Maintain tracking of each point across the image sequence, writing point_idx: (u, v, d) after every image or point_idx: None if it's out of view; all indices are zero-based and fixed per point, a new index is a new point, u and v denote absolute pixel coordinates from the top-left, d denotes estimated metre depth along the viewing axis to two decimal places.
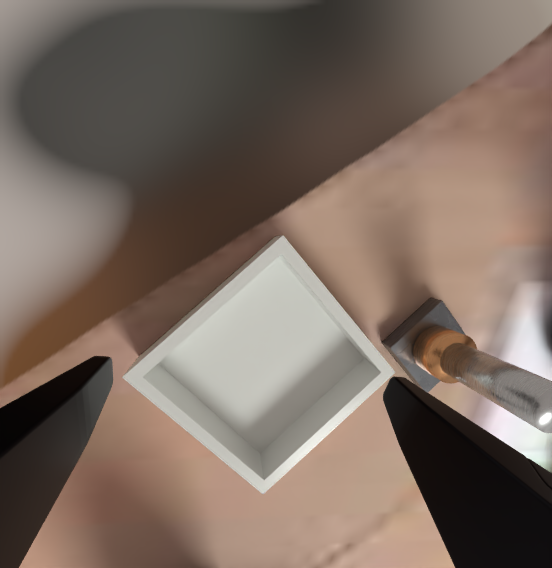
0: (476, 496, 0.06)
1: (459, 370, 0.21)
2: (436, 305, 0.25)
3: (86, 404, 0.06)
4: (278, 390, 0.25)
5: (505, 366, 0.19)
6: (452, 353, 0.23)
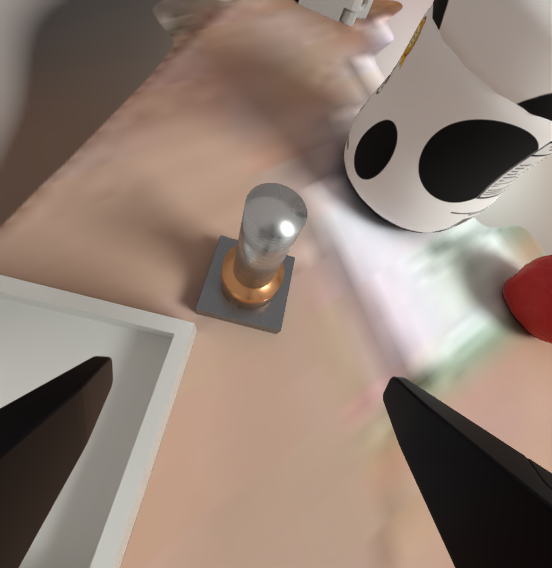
0: (476, 496, 0.06)
1: (238, 267, 0.17)
2: (218, 242, 0.23)
3: (86, 404, 0.06)
4: None
5: None
6: None
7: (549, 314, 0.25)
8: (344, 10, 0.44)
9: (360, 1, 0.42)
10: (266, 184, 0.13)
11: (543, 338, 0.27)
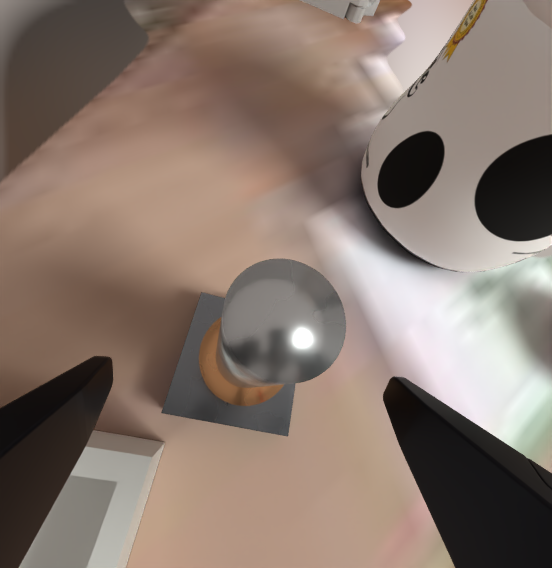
0: (476, 496, 0.06)
1: (222, 370, 0.11)
2: (198, 303, 0.16)
3: (86, 404, 0.06)
4: None
5: None
6: None
7: None
8: (350, 6, 0.38)
9: None
10: (265, 263, 0.07)
11: None
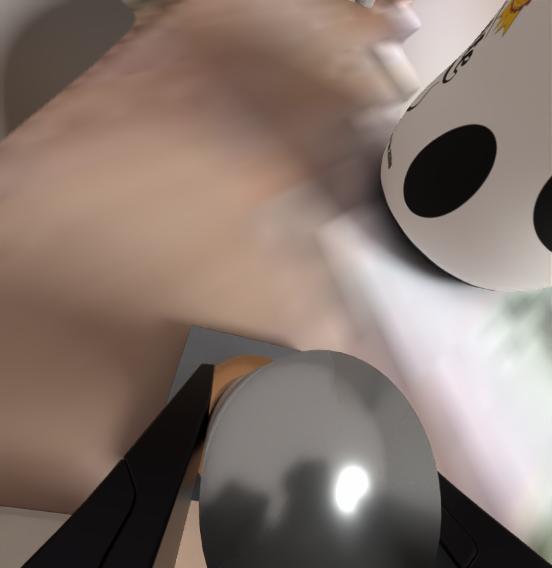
0: None
1: None
2: (187, 339, 0.13)
3: (209, 408, 0.07)
4: None
5: (225, 392, 0.06)
6: None
7: None
8: None
9: None
10: (285, 362, 0.04)
11: None
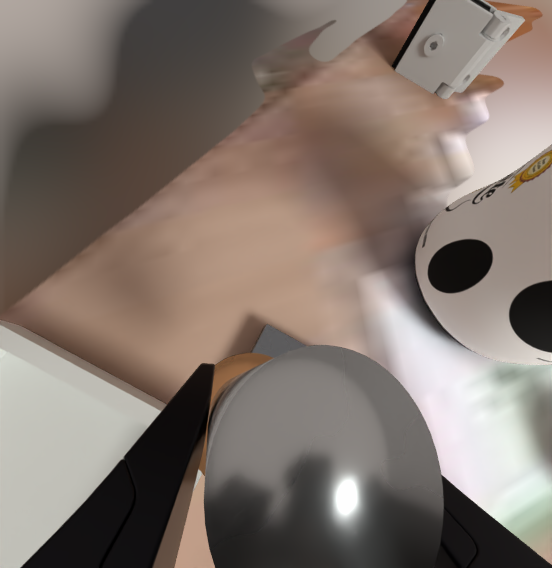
0: None
1: None
2: (262, 331, 0.21)
3: (209, 408, 0.07)
4: None
5: (232, 384, 0.06)
6: None
7: None
8: (442, 84, 0.42)
9: (462, 78, 0.40)
10: (297, 353, 0.04)
11: None
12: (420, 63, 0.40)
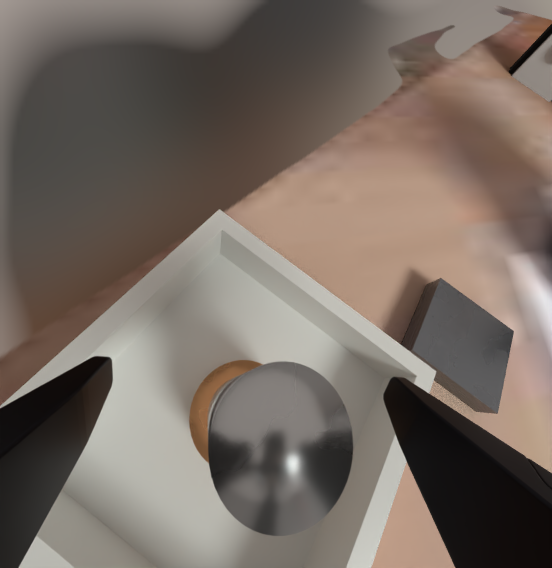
0: (476, 496, 0.06)
1: None
2: (437, 284, 0.20)
3: (86, 404, 0.06)
4: None
5: (226, 386, 0.08)
6: (208, 409, 0.11)
7: None
8: None
9: None
10: (266, 367, 0.06)
11: None
12: (543, 70, 0.41)
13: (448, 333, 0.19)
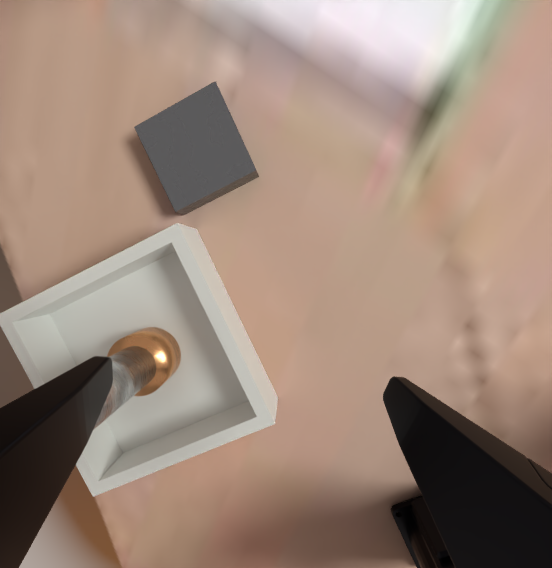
0: (476, 496, 0.06)
1: None
2: (139, 136, 0.20)
3: (86, 404, 0.06)
4: (193, 353, 0.22)
5: None
6: None
7: None
8: None
9: None
10: None
11: None
12: None
13: (181, 163, 0.20)
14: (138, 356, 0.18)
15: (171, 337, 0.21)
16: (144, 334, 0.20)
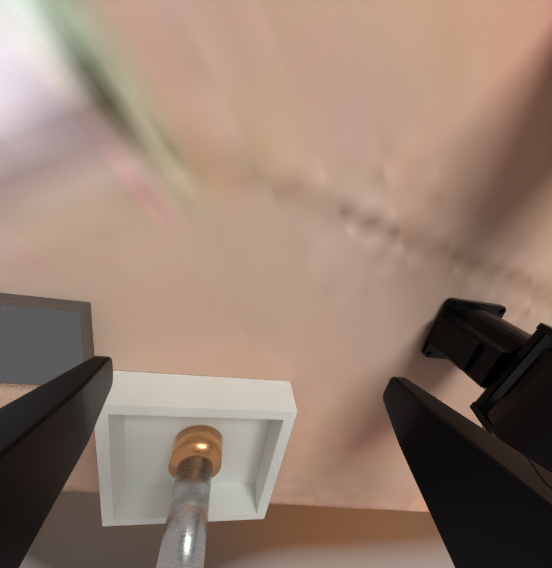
0: (476, 496, 0.06)
1: None
2: None
3: (86, 404, 0.06)
4: (215, 419, 0.25)
5: None
6: None
7: None
8: None
9: None
10: None
11: None
12: None
13: (40, 364, 0.20)
14: (186, 470, 0.22)
15: (193, 428, 0.25)
16: (175, 450, 0.24)
